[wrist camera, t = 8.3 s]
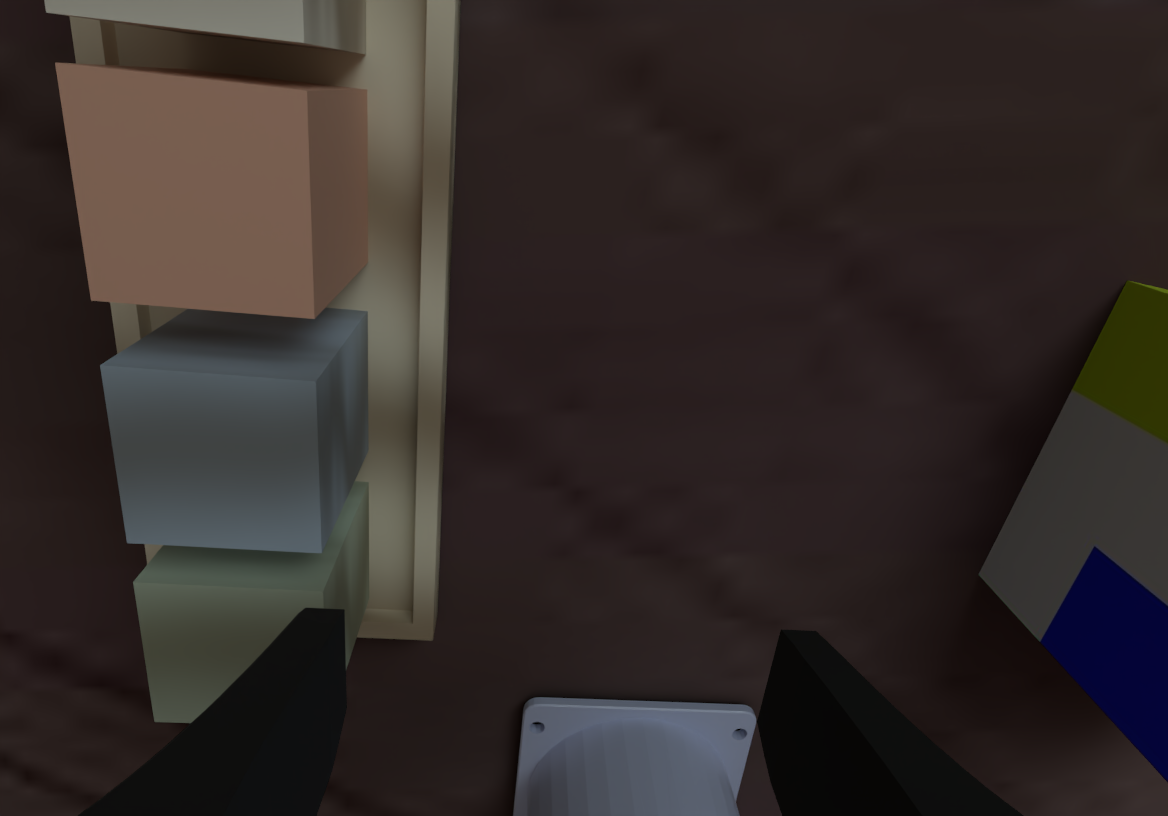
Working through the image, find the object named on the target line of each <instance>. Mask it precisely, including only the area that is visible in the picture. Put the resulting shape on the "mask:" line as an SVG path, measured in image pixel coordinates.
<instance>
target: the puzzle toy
mask: <svg viewBox="0 0 1168 816" xmlns="http://www.w3.org/2000/svg"><path fill="white" fill-rule="evenodd" d="M978 575H979V576H980V577H981V578H982V579H983V580H984V581H985V582H986V584H987V585H988V586H989V587H990V588H991V589H992V590H993V591H994V592H995V593H996V595H997V596H998V597H999V598H1000V599H1001V600H1002V601H1003V602H1004V603H1005V604H1006V605H1007V607H1008V608H1009V609H1010V610H1011V611H1012V612H1013V613H1014V614H1015V615H1016V616H1017V618H1018V619H1019V620H1020V621H1021V622H1022V623H1023V624H1024V625H1025V626H1026V627H1027V629H1028V630H1029V631H1030V632H1031V633H1032V634H1033V635H1034V636H1035V637H1036V638H1037V639H1038V641H1039V642H1040V643H1041V644H1042V645H1043V646H1044V647H1045V648H1046V649H1047V650H1048V652H1049V653H1050V654H1051V655H1052V656H1053V657H1054V658H1055V659H1056V660H1057V661H1058V663H1059V664H1060V665H1061V666H1062V667H1063V668H1064V669H1065V670H1066V671H1067V672H1068V674H1069V675H1070V676H1071V677H1072V678H1073V679H1074V680H1075V681H1076V682H1077V683H1078V684H1079V686H1080V687H1081V688H1082V689H1083V690H1084V691H1085V692H1086V693H1087V694H1088V695H1089V697H1090V698H1091V699H1092V700H1093V701H1094V702H1095V703H1096V704H1097V705H1098V706H1099V708H1100V709H1101V710H1102V711H1103V712H1104V713H1105V714H1106V715H1107V716H1108V717H1109V718H1110V720H1111V721H1112V722H1113V723H1114V724H1115V725H1116V726H1117V727H1118V728H1119V729H1120V731H1121V732H1122V733H1123V734H1124V735H1125V736H1126V737H1127V738H1128V739H1129V740H1130V742H1131V743H1132V744H1133V745H1134V746H1135V747H1136V748H1137V749H1138V750H1139V751H1140V752H1141V754H1142V755H1143V756H1144V757H1145V758H1146V759H1147V760H1148V761H1149V762H1150V763H1151V765H1152V766H1153V767H1154V768H1155V769H1156V770H1157V771H1158V772H1159V773H1160V774H1161V776H1162V777H1163V778H1164V779H1165V780H1166V781H1167V782H1168V290H1166V289H1162V288H1158V287H1153V286H1149V285H1145V284H1140V283H1136V282H1132V281H1127V282H1126V284H1125V286H1124V288H1123V290H1122V292H1121V294H1120V296H1119V298H1118V300H1117V302H1116V304H1115V306H1114V308H1113V310H1112V312H1111V314H1110V315H1109V317H1108V319H1107V321H1106V323H1105V325H1104V327H1103V329H1102V331H1101V333H1100V335H1099V337H1098V339H1097V341H1096V343H1095V345H1094V347H1093V349H1092V351H1091V353H1090V355H1089V357H1088V359H1087V361H1086V363H1085V365H1084V367H1083V369H1082V371H1081V373H1080V375H1079V377H1078V379H1077V381H1076V383H1075V385H1074V387H1073V389H1072V391H1071V393H1070V395H1069V397H1068V398H1067V400H1066V402H1065V404H1064V406H1063V408H1062V410H1061V412H1060V414H1059V416H1058V418H1057V420H1056V422H1055V424H1054V426H1053V428H1052V430H1051V432H1050V434H1049V436H1048V438H1047V440H1046V442H1045V444H1044V446H1043V448H1042V450H1041V452H1040V454H1039V456H1038V458H1037V460H1036V462H1035V464H1034V466H1033V468H1032V470H1031V472H1030V474H1029V476H1028V478H1027V480H1026V482H1025V483H1024V485H1023V487H1022V489H1021V491H1020V493H1019V495H1018V497H1017V499H1016V501H1015V503H1014V505H1013V507H1012V509H1011V511H1010V513H1009V515H1008V517H1007V519H1006V521H1005V523H1004V525H1003V527H1002V529H1001V531H1000V533H999V535H998V537H997V539H996V541H995V543H994V545H993V547H992V549H991V551H990V553H989V555H988V557H987V559H986V561H985V563H984V565H983V567H982V568H981V570H980V572H979V574H978Z"/></svg>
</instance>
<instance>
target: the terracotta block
mask: <svg viewBox="0 0 1168 816" xmlns="http://www.w3.org/2000/svg"><path fill="white" fill-rule="evenodd" d="M55 65H56V72H57V79H58V85H59V92H60V98H61V105H62V112H63V118H64V125H65V131H66V138H67V145H68V151H69V158H70V164H71V171H72V178H73V184H74V191H75V197H76V204H77V211H78V217H79V224H80V230H81V237H82V244H83V250H84V257H85V263H86V270H87V277H88V283H89V290H90V296H91V301H103V302H115V303H127V304H139V305H151V306H163V307H175V308H187V309H199V310H211V311H223V312H235V313H247V314H259V315H271V316H283V317H295V318H307V319H315V318H316V317H317V316H318V315H319V314H320V313H321V312H322V311H323V310H324V309H325V308H326V306H327V305H328V304H329V303H330V302H331V301H332V300H333V299H334V298H335V297H336V296H337V295H338V294H339V293H340V292H341V291H342V289H343V288H344V287H345V286H346V285H347V284H348V283H349V282H350V281H351V280H352V279H353V278H354V277H355V276H356V275H357V274H358V272H359V271H360V270H361V269H362V268H363V267H364V266H365V265H366V264H367V263H368V112H367V89H358V88H349V87H341V86H332V85H323V84H314V83H305V82H297V81H288V80H279V79H270V78H261V77H252V76H244V75H235V74H226V73H217V72H208V71H199V70H191V69H177V68H156V67H136V66H116V65H95V64H75V63H55Z"/></svg>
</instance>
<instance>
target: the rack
mask: <svg viewBox="0 0 1168 816" xmlns="http://www.w3.org/2000/svg"><path fill="white" fill-rule="evenodd" d="M44 1H45V8H46V13H53V14H60V15H66V16H70V23H71V30H72V37H73V45H74V52H75V59H76V64H95V65H116V66H136V67H156V68H177V69H191V70H199V71H208V72H217V73H226V74H235V75H244V76H252V77H261V78H270V79H279V80H288V81H297V82H305V83H314V84H323V85H332V86H341V87H349V88H358V89H367V112H368V263H367V264H366V265H365V266H364V267H363V268H362V269H361V270H360V271H359V272H358V274H357V275H356V276H355V277H354V278H353V279H352V280H351V281H350V282H349V283H348V284H347V285H346V286H345V287H344V288H343V289H342V291H341V292H340V293H339V294H338V295H337V296H336V297H335V298H334V299H333V300H332V301H331V302H330V303H329V304H328V305H327V306H326V308H325V309H324V310H323V311H322V312H321V313H320V314H319V315H318V316H317V317H316V318H315V319H307V318H295V317H283V316H271V315H259V314H247V313H235V312H223V311H211V310H199V309H187V308H175V307H163V306H151V305H139V304H127V303H115V302H110V305H111V312H112V319H113V326H114V333H115V340H116V347H117V355H115V356H114V357H112V358H111V359H109V360H107V361H106V362H104V363H103V364H101V365H100V368H101V375H102V381H103V388H104V394H105V401H106V408H107V414H108V421H109V427H110V434H111V440H112V447H113V453H114V460H115V467H116V473H117V480H118V486H119V493H120V499H121V506H122V512H123V519H124V526H125V532H126V539H127V543H134V544H145V551H146V558H147V566H146V567H145V568H144V569H143V571H142V572H141V573H140V574H139V576H138V577H137V578H136V579H135V581H134V582H133V585H134V591H135V598H136V604H137V611H138V617H139V624H140V631H141V637H142V644H143V650H144V657H145V663H146V670H147V676H148V683H149V690H150V696H151V703H152V709H153V716H154V722H173V723H192V722H193V721H194V720H195V719H196V718H197V717H198V716H199V715H200V714H201V713H203V712H204V711H205V710H206V709H207V708H208V707H209V706H210V705H211V704H212V703H213V702H214V701H215V700H216V699H217V698H218V697H219V696H220V695H221V694H222V693H223V692H224V691H225V690H226V689H227V688H228V687H229V686H230V685H231V684H232V683H233V682H234V681H235V680H236V679H237V678H238V677H239V676H240V675H241V674H242V673H243V672H244V671H245V670H246V669H247V668H248V667H249V666H250V665H251V664H252V663H253V662H254V661H255V660H256V659H257V658H258V657H259V656H260V655H261V654H262V653H263V651H264V650H265V649H266V648H267V647H268V646H269V645H270V644H271V643H272V642H273V641H274V640H275V639H276V637H277V636H278V635H279V634H280V633H281V632H282V631H283V630H284V629H285V628H286V626H287V625H288V624H289V623H290V622H291V621H292V620H293V619H294V618H295V616H296V615H297V614H298V613H299V612H301V611H302V610H303V609H304V608H325V609H345V653H346V669H347V666H348V663H349V660H350V657H351V654H352V650H353V647H354V644H355V641H356V638H357V637H361V638H384V639H408V640H431V641H433V637H434V631H435V626H436V620H437V613H438V587H439V560H440V534H441V507H442V481H443V454H444V428H445V401H446V375H447V348H448V322H449V295H450V269H451V242H452V216H453V189H454V163H455V136H456V110H457V83H458V57H459V30H460V4H461V0H44Z"/></svg>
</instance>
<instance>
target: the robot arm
mask: <svg viewBox="0 0 1168 816" xmlns="http://www.w3.org/2000/svg"><path fill="white" fill-rule="evenodd" d="M346 708H347V700H346V653H345V609H325V608H304V609H303V610H302V611H301V612H299V613H298V614H297V615H296V616H295V618H294V619H293V620H292V621H291V622H290V623H289V624H288V625H287V626H286V628H285V629H284V630H283V631H282V632H281V633H280V634H279V635H278V636H277V637H276V639H275V640H274V641H273V642H272V643H271V644H270V645H269V646H268V647H267V648H266V649H265V650H264V651H263V653H262V654H261V655H260V656H259V657H258V658H257V659H256V660H255V661H254V662H253V663H252V664H251V665H250V666H249V667H248V668H247V669H246V670H245V671H244V672H243V673H242V674H241V675H240V676H239V677H238V678H237V679H236V680H235V681H234V682H233V683H232V684H231V685H230V686H229V687H228V688H227V689H226V690H225V691H224V692H223V693H222V694H221V695H220V696H219V697H218V698H217V699H216V700H215V701H214V702H213V703H212V704H211V705H210V706H209V707H208V708H207V709H206V710H205V711H204V712H203V713H201V714H200V715H199V716H198V717H197V718H196V719H195V720H194V721H193V722H192V723H190V724H189V725H188V726H187V727H186V728H185V729H184V730H183V731H182V732H181V733H179V734H178V735H177V736H176V737H175V738H174V739H173V740H172V741H171V742H170V743H168V744H167V745H166V746H165V747H164V748H163V749H162V750H160V751H159V752H158V753H157V754H156V755H155V756H153V757H152V758H151V759H150V760H149V761H147V762H146V763H145V764H144V765H143V766H141V767H140V768H139V769H138V770H137V771H135V772H134V773H133V774H132V775H130V776H129V777H128V778H127V779H125V780H124V781H123V782H122V783H120V784H119V785H118V786H116V787H115V788H114V789H113V790H111V791H110V792H109V793H108V794H106V795H105V796H104V797H102V798H101V799H100V800H98V801H97V802H96V803H94V804H93V805H92V806H90V807H89V808H88V809H86V810H85V811H83V812H82V813H81V814H79V815H78V816H316V815H317V812H318V809H319V807H320V804H321V801H322V798H323V795H324V792H325V789H326V787H327V784H328V781H329V778H330V775H331V772H332V769H333V764H334V760H335V756H336V752H337V748H338V744H339V739H340V735H341V731H342V726H343V722H344V717H345V713H346ZM534 722H541V724H537V725H536V724H532V723H534ZM757 723H758V728H759V732H760V737H761V742H762V747H763V751H764V756H765V760H766V764H767V769H768V773H769V777H770V781H771V784H772V787H773V790H774V793H775V796H776V799H777V802H778V804H779V807H780V810H781V813H782V816H1023V815H1022V814H1021V813H1019V812H1018V811H1017V810H1015V809H1014V808H1013V807H1011V806H1010V805H1009V804H1007V803H1006V802H1005V801H1003V800H1002V799H1001V798H999V797H998V796H997V795H996V794H994V793H993V792H992V791H990V790H989V789H988V788H987V787H985V786H984V785H983V784H982V783H980V782H979V781H978V780H977V779H975V778H974V777H973V776H972V775H970V774H969V773H968V772H967V771H966V770H965V769H963V768H962V767H961V766H960V765H959V764H958V763H956V762H955V761H954V760H953V759H952V758H951V757H949V756H948V755H947V754H946V753H945V752H944V751H942V750H941V749H940V748H939V747H938V746H937V745H935V744H934V743H933V742H932V741H931V740H930V739H929V738H928V737H927V736H925V735H924V734H923V733H922V732H921V731H920V730H919V729H918V728H917V727H915V726H914V725H913V724H912V723H911V722H910V721H909V720H908V719H907V718H906V717H905V716H904V715H903V714H901V713H900V712H899V711H898V710H897V709H896V708H895V707H894V706H893V705H892V704H891V703H890V702H889V701H888V700H887V699H886V698H885V697H884V696H883V695H881V694H880V693H879V692H878V691H877V690H876V689H875V688H874V687H873V686H872V685H871V684H870V683H869V682H868V681H867V680H866V679H865V678H864V677H863V676H862V675H861V674H860V673H859V672H858V671H857V670H856V669H855V668H854V667H853V666H852V665H851V664H850V663H849V662H848V661H847V660H846V659H845V658H844V657H843V656H842V655H841V654H840V653H838V652H837V651H836V650H835V649H834V648H833V647H832V646H831V645H830V644H829V643H828V642H827V641H826V640H825V639H824V638H823V637H822V636H820V635H819V634H818V633H817V632H816V631H799V630H781V632H780V635H779V639H778V643H777V647H776V651H775V655H774V659H773V662H772V666H771V670H770V674H769V678H768V682H767V686H766V690H765V693H764V697H763V701H762V705H761V709H760V713H759V717H758V720H757ZM755 725H756V717H755V714H754V711H753V710H752V708H751V707H749V706H747V705H741V704H714V703H686V702H658V701H631V700H603V699H575V698H548V697H537V698H532V699H530V700H528V701H527V702H526V703H525V705H524V708H523V717H522V728H521V738H520V748H519V758H518V768H517V779H516V789H515V799H514V809H513V816H739V812H738V809H737V805H736V799H737V795H738V791H739V787H740V783H741V779H742V775H743V772H744V768H745V764H746V760H747V756H748V752H749V748H750V744H751V741H752V737H753V733H754V729H755ZM736 729H741V730H739V731H735V730H736Z"/></svg>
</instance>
